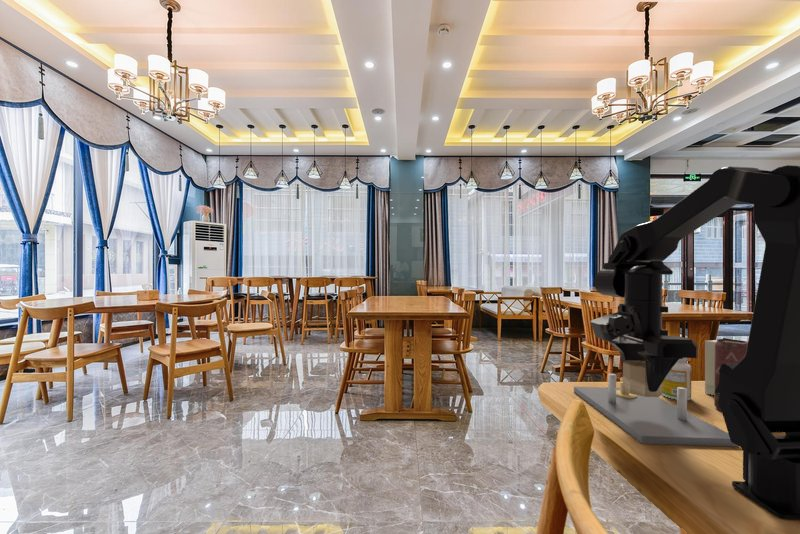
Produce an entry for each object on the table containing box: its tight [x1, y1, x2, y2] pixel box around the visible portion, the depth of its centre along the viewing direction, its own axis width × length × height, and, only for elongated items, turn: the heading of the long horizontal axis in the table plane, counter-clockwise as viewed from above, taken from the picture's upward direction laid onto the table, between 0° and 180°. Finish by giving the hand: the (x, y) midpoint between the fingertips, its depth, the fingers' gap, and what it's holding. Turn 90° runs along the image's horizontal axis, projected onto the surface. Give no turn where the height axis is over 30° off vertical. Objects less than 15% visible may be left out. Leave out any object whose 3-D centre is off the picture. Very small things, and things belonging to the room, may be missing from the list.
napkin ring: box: [622, 360, 663, 398], centre depth 66 cm, size 6×6×5 cm
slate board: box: [573, 373, 740, 448], centre depth 71 cm, size 25×15×7 cm, turn 178°
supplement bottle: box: [661, 358, 692, 401], centre depth 81 cm, size 5×5×10 cm
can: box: [713, 338, 748, 412], centre depth 73 cm, size 6×6×14 cm
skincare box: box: [704, 339, 717, 396], centre depth 83 cm, size 6×4×12 cm
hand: (642, 386), depth 66 cm, fingers closed on napkin ring, 5 cm apart
